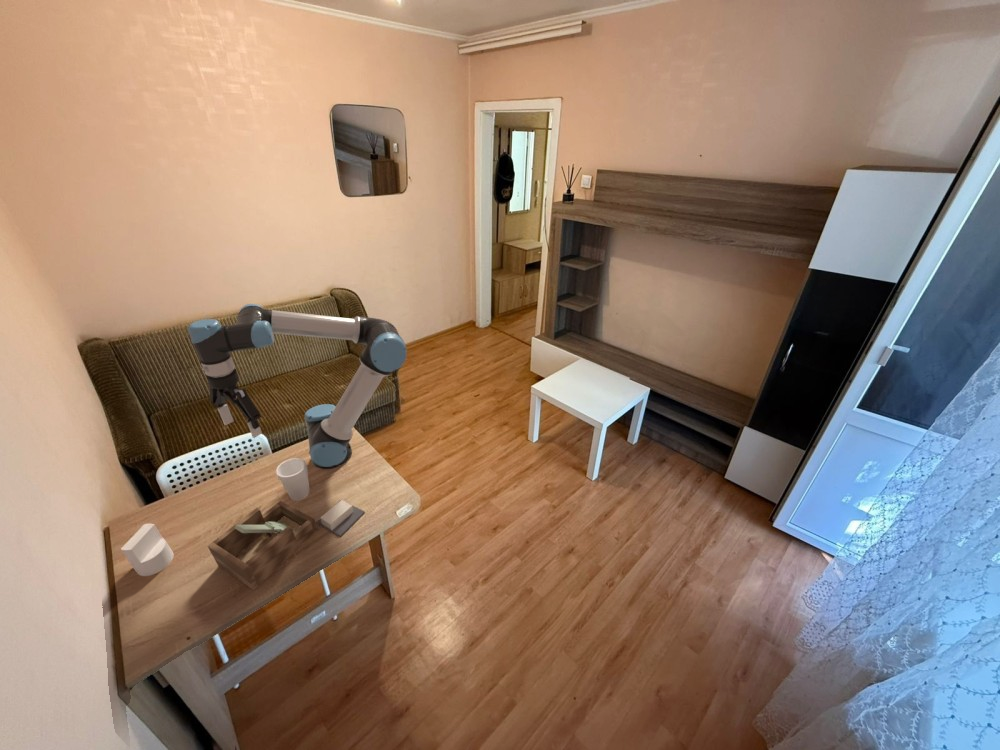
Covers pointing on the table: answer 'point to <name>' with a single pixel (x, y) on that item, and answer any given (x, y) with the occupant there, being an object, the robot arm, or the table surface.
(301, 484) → the foam cup
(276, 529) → the bar
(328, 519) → the part
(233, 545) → the wooden box
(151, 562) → the base with upright slab
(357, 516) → the mat
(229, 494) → the table surface
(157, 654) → the table surface
